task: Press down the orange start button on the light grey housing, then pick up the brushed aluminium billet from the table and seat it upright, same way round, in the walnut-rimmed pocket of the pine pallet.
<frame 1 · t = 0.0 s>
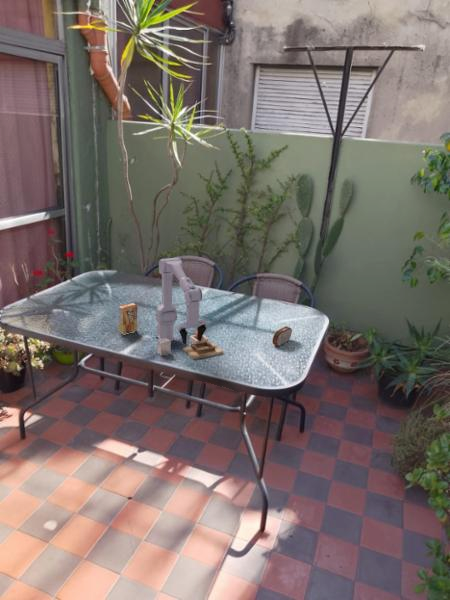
hand: (191, 342, 206), 10 cm above the table, tool pointing down, fingers open, 7 cm apart
pallet: (202, 351, 220), on the table
sandwich: (281, 343, 234), on the table
start button: (198, 335, 228), point 4 cm above the table, slide at 0.0 cm
button housing: (198, 342, 230), on the table
candy box: (128, 333, 236), on the table
billet: (164, 353, 216), on the table
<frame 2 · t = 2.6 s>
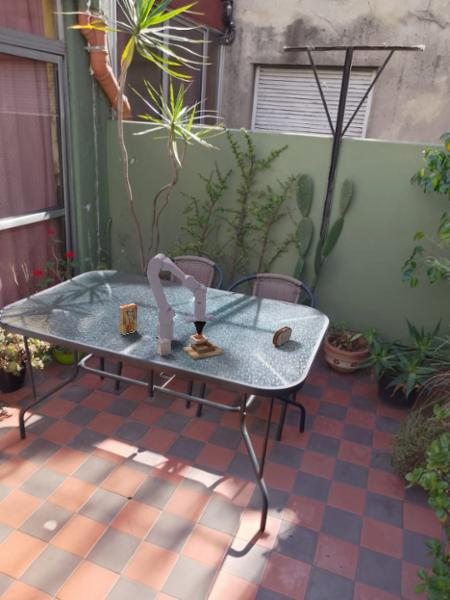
hand: (199, 334, 228), 5 cm above the table, tool pointing down, fingers closed, pressing on start button
start button: (198, 337, 229), point 3 cm above the table, slide at 1.2 cm, touching gripper
everything else where it was.
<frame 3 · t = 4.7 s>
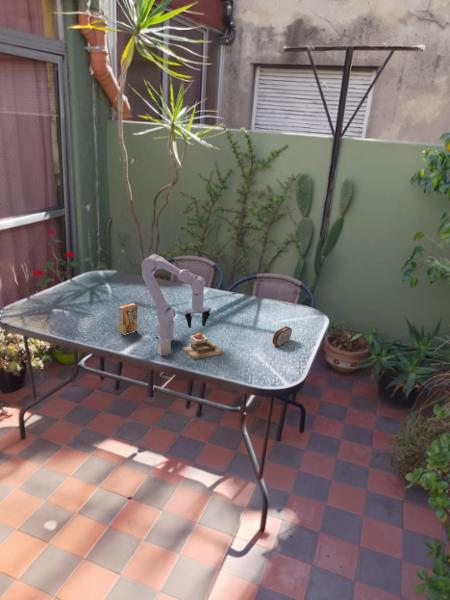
hand: (196, 326, 226), 9 cm above the table, tool pointing down, fingers open, 7 cm apart
start button: (198, 337, 229), point 3 cm above the table, slide at 1.2 cm
everything else where it was.
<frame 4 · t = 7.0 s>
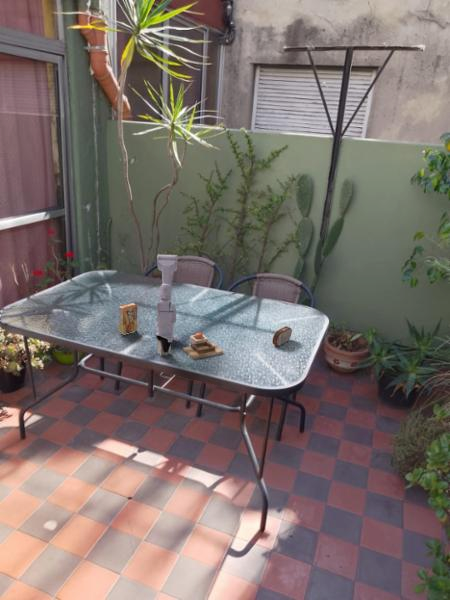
hand: (164, 350, 215), 2 cm above the table, tool pointing down, fingers closed on billet, 4 cm apart
billet: (164, 353, 216), on the table, touching gripper
everything else where it was.
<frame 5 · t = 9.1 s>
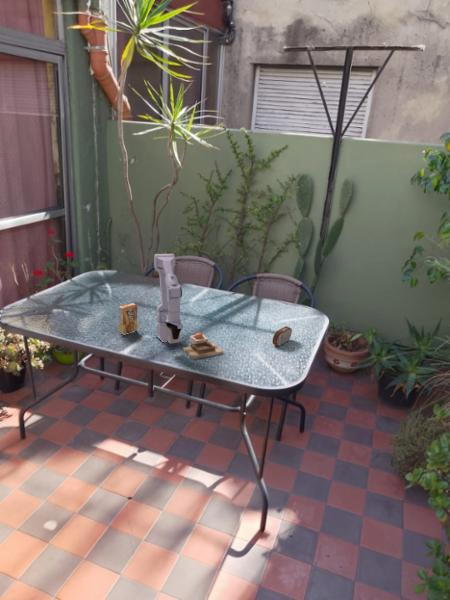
hand: (173, 337, 214), 8 cm above the table, tool pointing down, fingers closed on billet, 4 cm apart
billet: (173, 341, 215), point 6 cm above the table, touching gripper
everything else where it was.
when the fingers open (4 cm above the table, at t = 11.6 s): billet stays where it is, resting on pallet.
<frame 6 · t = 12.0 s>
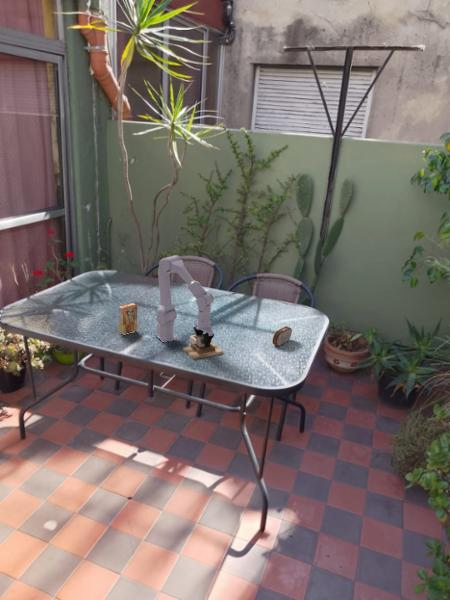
hand: (203, 343, 219), 4 cm above the table, tool pointing down, fingers open, 7 cm apart
billet: (202, 349, 220), point 1 cm above the table, touching pallet
everything else where it was.
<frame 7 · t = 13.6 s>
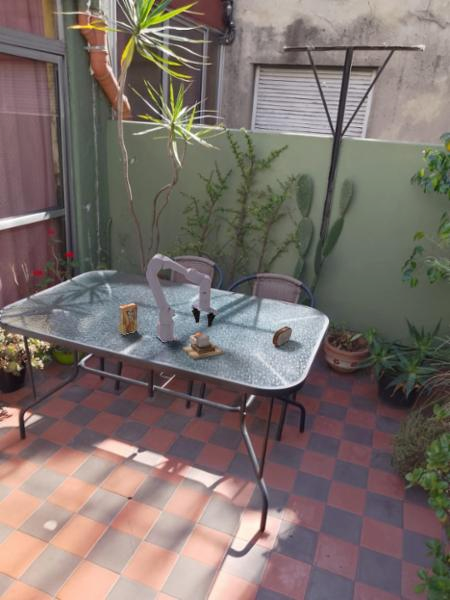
hand: (203, 324, 228), 9 cm above the table, tool pointing down, fingers open, 7 cm apart
nothing on the table moved.
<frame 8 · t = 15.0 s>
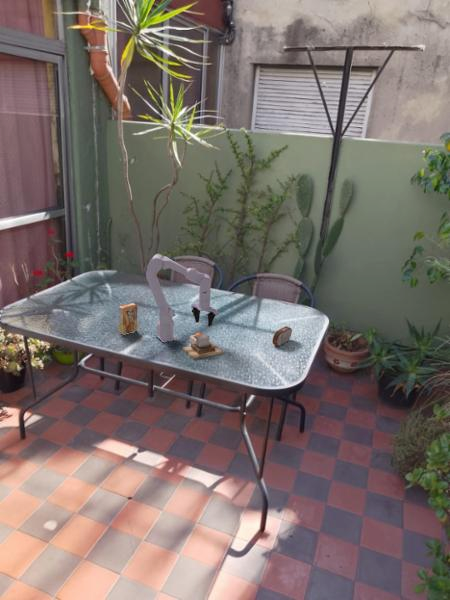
hand: (203, 324, 229), 9 cm above the table, tool pointing down, fingers open, 7 cm apart
nothing on the table moved.
at the end: billet 0.4 cm off-centre on the pallet, point 1.2 cm above the pallet's base; billet tilted 0°; start button slide at 1.2 cm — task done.
